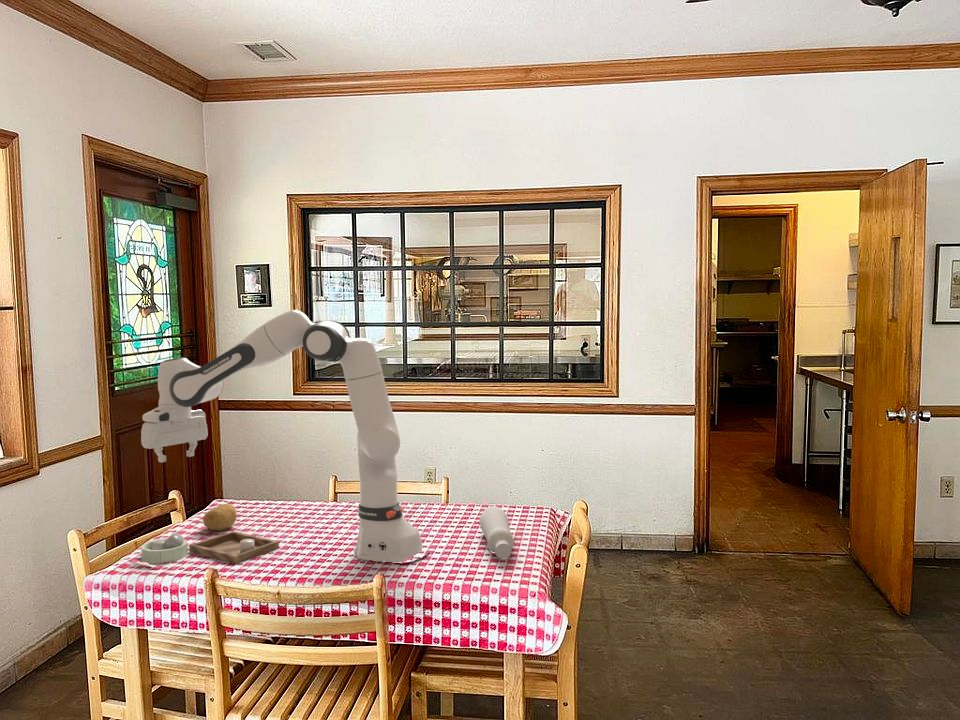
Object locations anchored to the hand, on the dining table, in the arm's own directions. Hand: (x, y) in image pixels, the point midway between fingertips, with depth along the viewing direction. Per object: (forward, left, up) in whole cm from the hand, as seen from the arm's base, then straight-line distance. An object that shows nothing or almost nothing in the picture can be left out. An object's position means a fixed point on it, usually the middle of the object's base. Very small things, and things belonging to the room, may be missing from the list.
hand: (176, 459), depth 209 cm
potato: (+6, -20, -28) cm, 35 cm away
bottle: (-80, -51, -28) cm, 99 cm away
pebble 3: (-21, -7, -27) cm, 35 cm away
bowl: (-3, +7, -28) cm, 28 cm away
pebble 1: (-1, +7, -27) cm, 27 cm away
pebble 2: (-4, +6, -24) cm, 25 cm away
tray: (-16, -7, -28) cm, 33 cm away
